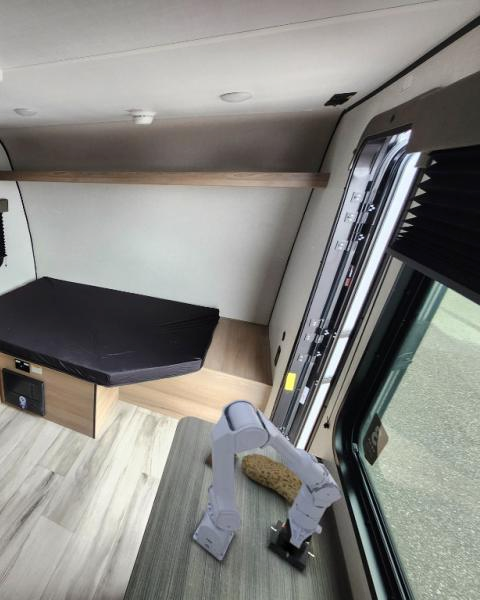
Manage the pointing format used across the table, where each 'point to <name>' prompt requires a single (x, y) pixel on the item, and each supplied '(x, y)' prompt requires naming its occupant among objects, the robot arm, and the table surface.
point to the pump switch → (209, 459)
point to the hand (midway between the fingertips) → (292, 540)
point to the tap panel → (289, 550)
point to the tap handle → (284, 534)
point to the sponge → (272, 475)
